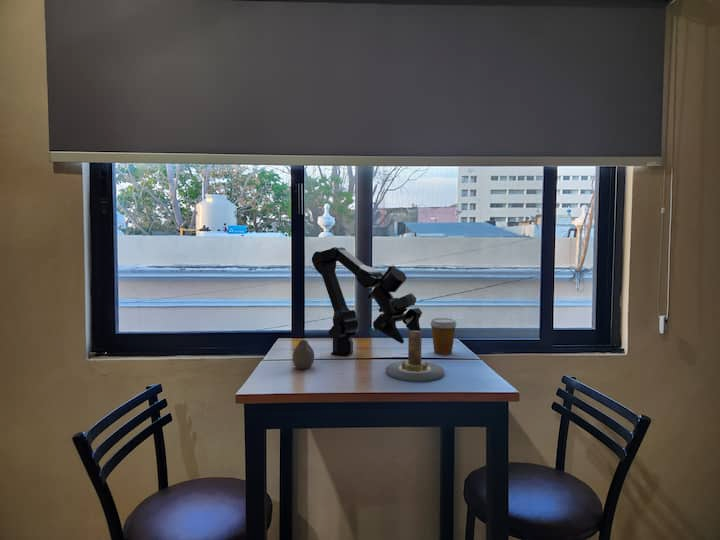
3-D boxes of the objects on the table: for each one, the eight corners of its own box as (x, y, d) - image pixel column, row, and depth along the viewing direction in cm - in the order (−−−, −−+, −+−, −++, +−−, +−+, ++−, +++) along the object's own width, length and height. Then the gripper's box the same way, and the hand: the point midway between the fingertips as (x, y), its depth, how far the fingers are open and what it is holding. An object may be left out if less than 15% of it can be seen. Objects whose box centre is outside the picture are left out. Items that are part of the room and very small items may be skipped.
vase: (317, 365, 150) (317, 339, 149) (308, 371, 143) (308, 344, 143) (298, 363, 152) (298, 337, 151) (288, 369, 146) (288, 342, 145)
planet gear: (405, 372, 138) (406, 334, 137) (398, 365, 146) (399, 329, 145) (431, 371, 139) (431, 333, 138) (422, 364, 147) (423, 328, 146)
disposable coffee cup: (445, 357, 161) (445, 323, 160) (424, 352, 168) (424, 320, 167) (461, 353, 167) (462, 320, 166) (440, 348, 174) (441, 317, 173)
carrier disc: (378, 377, 137) (378, 373, 137) (394, 362, 154) (394, 358, 154) (438, 384, 131) (438, 379, 131) (448, 367, 148) (448, 363, 148)
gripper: (380, 287, 138) (408, 329, 132) (418, 283, 152) (445, 321, 145) (361, 310, 145) (387, 351, 138) (399, 304, 158) (424, 341, 151)
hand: (412, 340), depth 143 cm, fingers open, 9 cm apart
